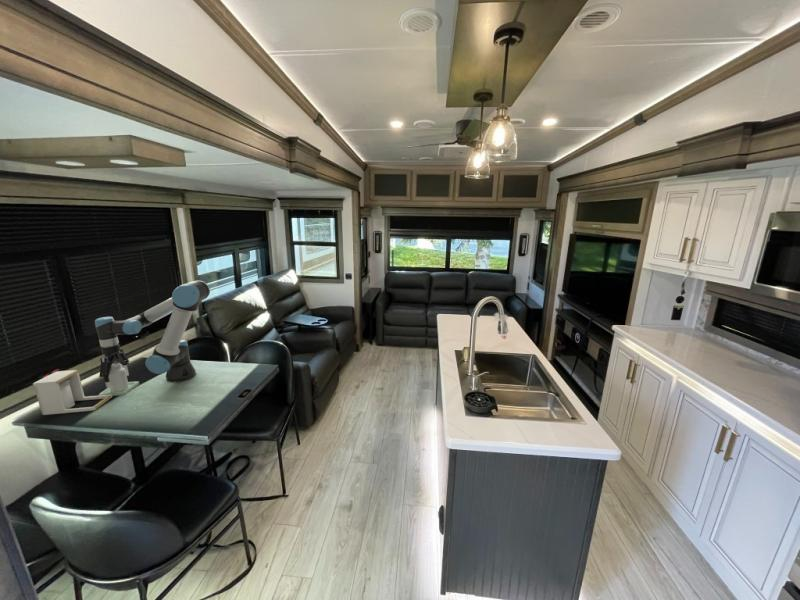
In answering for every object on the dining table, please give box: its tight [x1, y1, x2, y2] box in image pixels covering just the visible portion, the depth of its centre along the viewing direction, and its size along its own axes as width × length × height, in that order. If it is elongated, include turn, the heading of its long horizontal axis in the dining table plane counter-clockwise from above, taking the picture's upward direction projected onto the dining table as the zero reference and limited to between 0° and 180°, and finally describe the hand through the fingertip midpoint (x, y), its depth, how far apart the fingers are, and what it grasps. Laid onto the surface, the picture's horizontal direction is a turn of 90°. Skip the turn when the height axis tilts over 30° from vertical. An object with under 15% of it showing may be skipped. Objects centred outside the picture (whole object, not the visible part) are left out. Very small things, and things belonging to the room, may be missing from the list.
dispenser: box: [32, 369, 113, 416], centre depth 161 cm, size 22×13×17 cm, turn 100°
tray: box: [98, 380, 140, 397], centre depth 178 cm, size 12×12×2 cm
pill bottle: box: [108, 362, 129, 392], centre depth 176 cm, size 8×8×15 cm
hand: (118, 381), depth 177 cm, fingers open, 12 cm apart
